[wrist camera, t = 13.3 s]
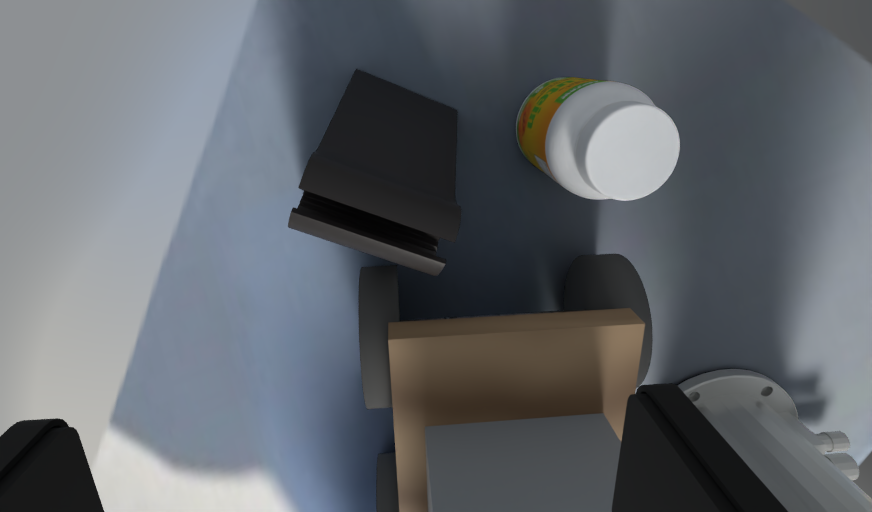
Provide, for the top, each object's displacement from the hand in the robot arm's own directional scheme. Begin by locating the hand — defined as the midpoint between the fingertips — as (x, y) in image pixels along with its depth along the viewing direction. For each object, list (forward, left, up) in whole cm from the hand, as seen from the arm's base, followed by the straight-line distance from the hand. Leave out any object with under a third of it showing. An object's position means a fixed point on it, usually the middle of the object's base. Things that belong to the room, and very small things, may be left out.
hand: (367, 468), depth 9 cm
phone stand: (0, -1, -23) cm, 23 cm away
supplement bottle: (-10, -3, -23) cm, 25 cm away
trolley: (-6, +15, -23) cm, 28 cm away
